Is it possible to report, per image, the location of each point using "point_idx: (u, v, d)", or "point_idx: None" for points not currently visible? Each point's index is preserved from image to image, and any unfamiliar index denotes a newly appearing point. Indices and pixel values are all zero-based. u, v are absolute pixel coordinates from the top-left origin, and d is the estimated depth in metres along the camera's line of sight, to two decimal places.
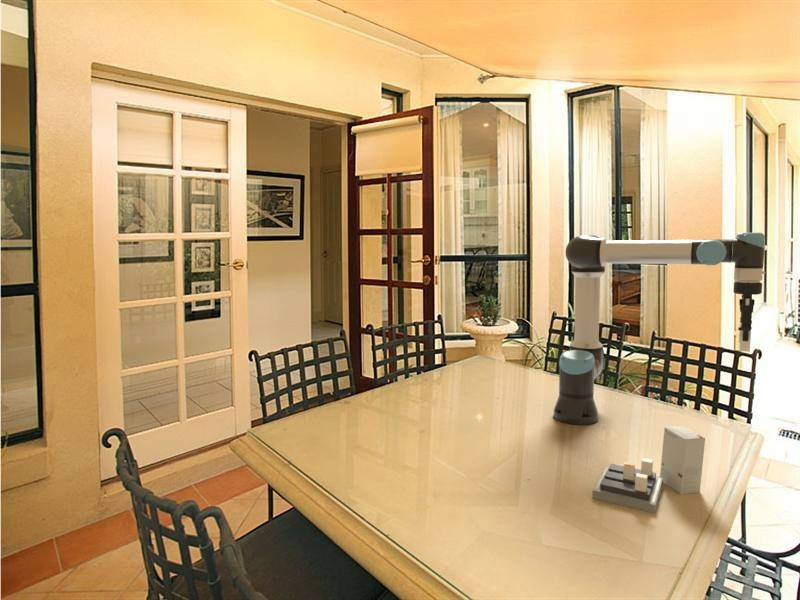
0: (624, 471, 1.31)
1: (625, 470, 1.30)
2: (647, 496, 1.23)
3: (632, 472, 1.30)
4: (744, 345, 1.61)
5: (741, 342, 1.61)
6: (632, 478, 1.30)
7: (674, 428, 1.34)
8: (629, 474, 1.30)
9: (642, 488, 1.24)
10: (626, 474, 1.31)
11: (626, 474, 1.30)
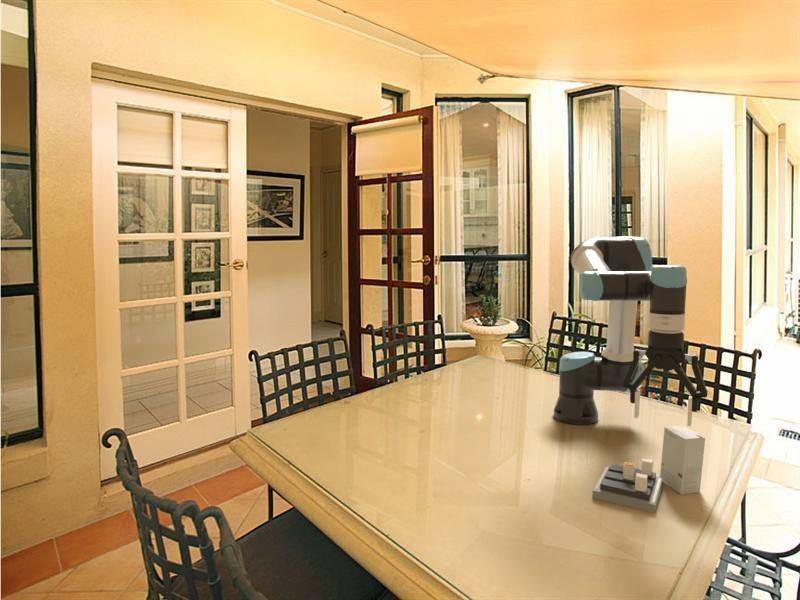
0: (624, 471, 1.31)
1: (625, 470, 1.30)
2: (647, 496, 1.23)
3: (632, 472, 1.30)
4: None
5: None
6: (632, 478, 1.30)
7: (674, 428, 1.34)
8: (629, 474, 1.30)
9: (642, 488, 1.24)
10: (626, 474, 1.31)
11: (626, 474, 1.30)
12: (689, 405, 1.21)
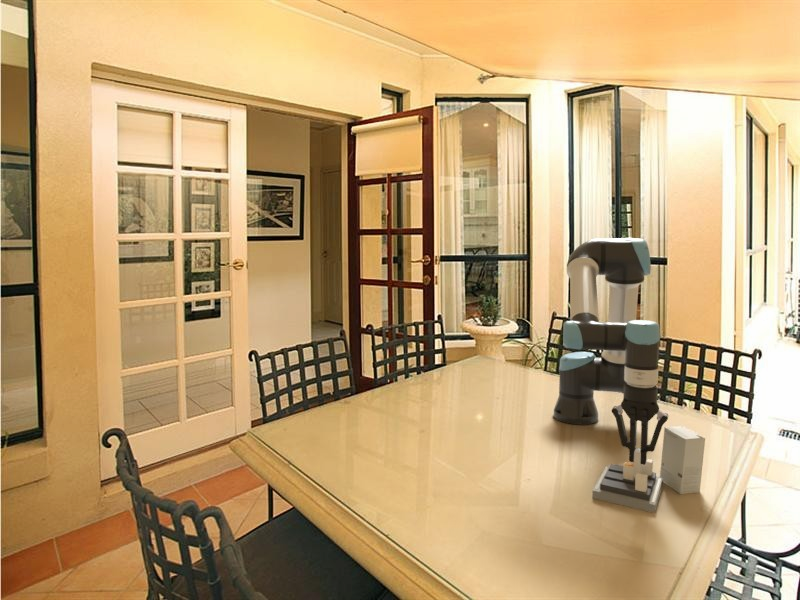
0: (624, 471, 1.31)
1: (625, 470, 1.30)
2: (647, 496, 1.23)
3: (632, 472, 1.30)
4: None
5: None
6: (632, 478, 1.30)
7: (674, 428, 1.34)
8: (629, 473, 1.30)
9: (642, 488, 1.24)
10: (626, 474, 1.31)
11: (626, 474, 1.31)
12: (638, 458, 1.28)
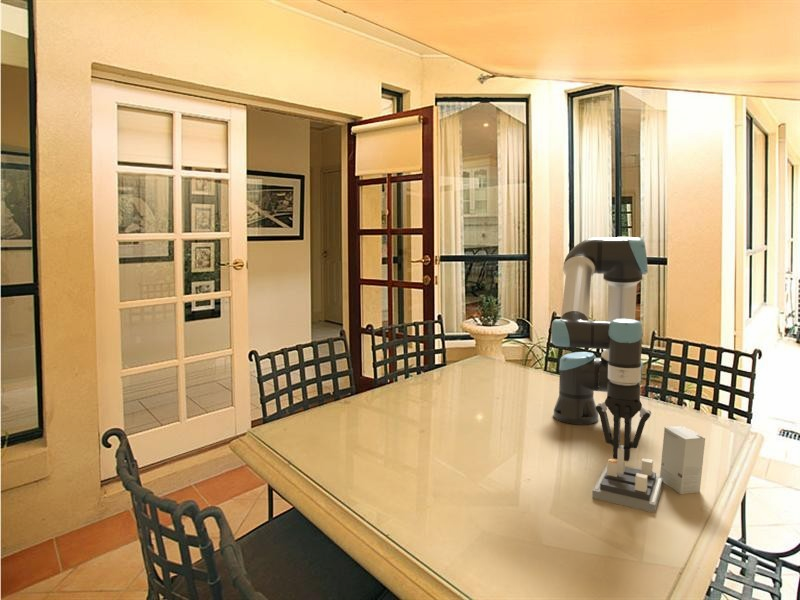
0: (608, 468, 1.33)
1: (609, 466, 1.33)
2: (647, 496, 1.23)
3: (616, 469, 1.32)
4: None
5: None
6: (616, 475, 1.32)
7: (674, 428, 1.34)
8: (612, 470, 1.32)
9: (642, 488, 1.24)
10: (610, 471, 1.33)
11: (610, 470, 1.33)
12: (621, 455, 1.30)
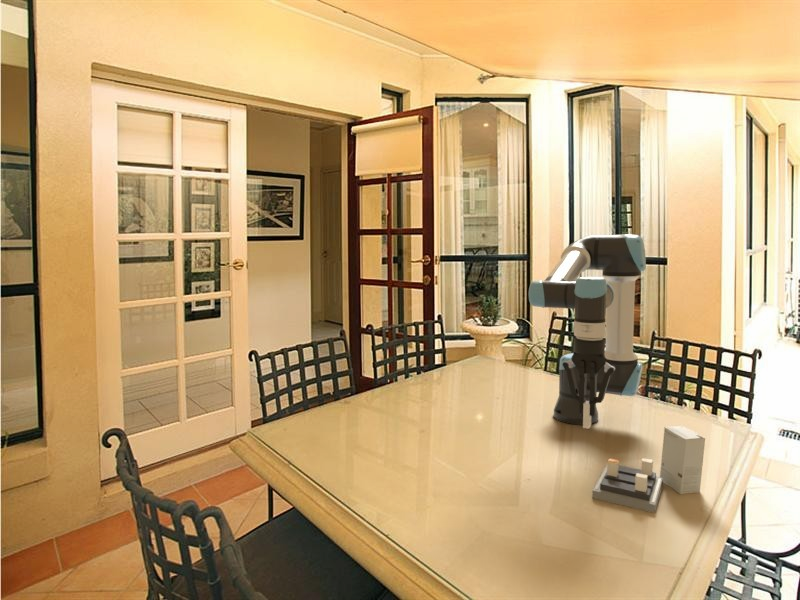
0: (608, 468, 1.33)
1: (609, 466, 1.33)
2: (647, 496, 1.23)
3: (616, 469, 1.32)
4: None
5: None
6: (616, 474, 1.32)
7: (674, 428, 1.34)
8: (612, 470, 1.32)
9: (642, 488, 1.24)
10: (610, 471, 1.33)
11: (610, 470, 1.33)
12: (587, 409, 1.33)
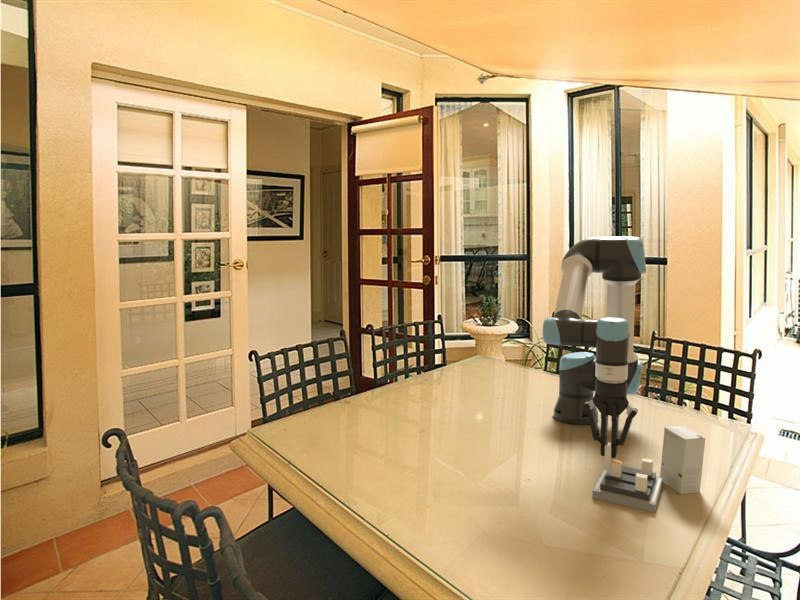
0: (611, 469, 1.32)
1: (612, 467, 1.32)
2: (647, 496, 1.23)
3: (619, 469, 1.31)
4: None
5: None
6: (619, 475, 1.31)
7: (674, 428, 1.34)
8: (616, 471, 1.32)
9: (642, 488, 1.24)
10: (613, 471, 1.32)
11: (613, 471, 1.32)
12: (608, 452, 1.32)
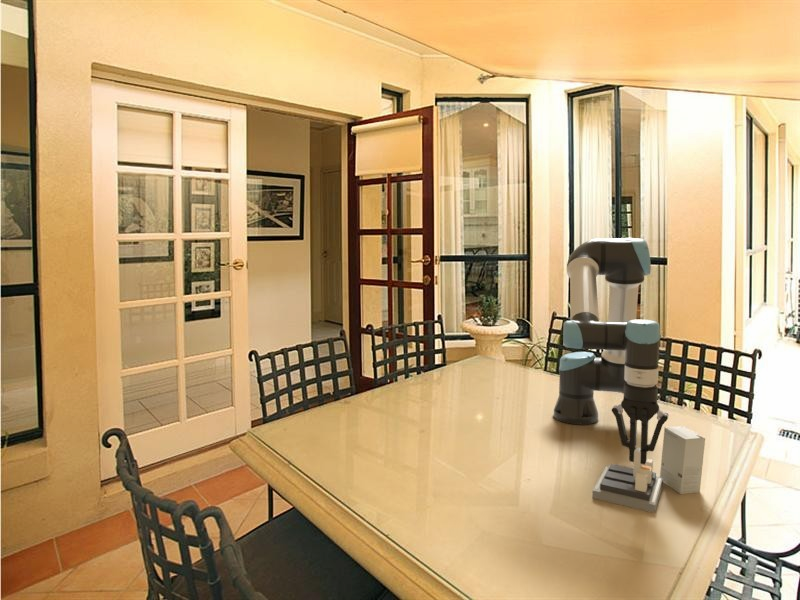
0: None
1: (642, 473, 1.28)
2: (647, 496, 1.23)
3: (649, 476, 1.28)
4: None
5: None
6: (649, 482, 1.28)
7: (674, 428, 1.34)
8: None
9: (642, 488, 1.24)
10: None
11: None
12: (638, 458, 1.28)
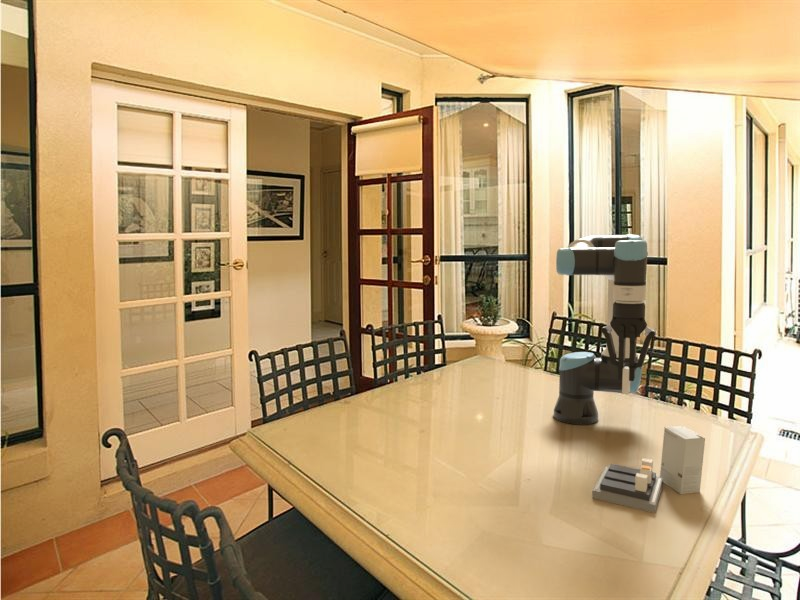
0: None
1: (642, 473, 1.28)
2: (647, 496, 1.23)
3: (649, 476, 1.28)
4: None
5: None
6: (649, 482, 1.28)
7: (674, 428, 1.34)
8: None
9: (642, 488, 1.24)
10: None
11: None
12: (626, 375, 1.32)
